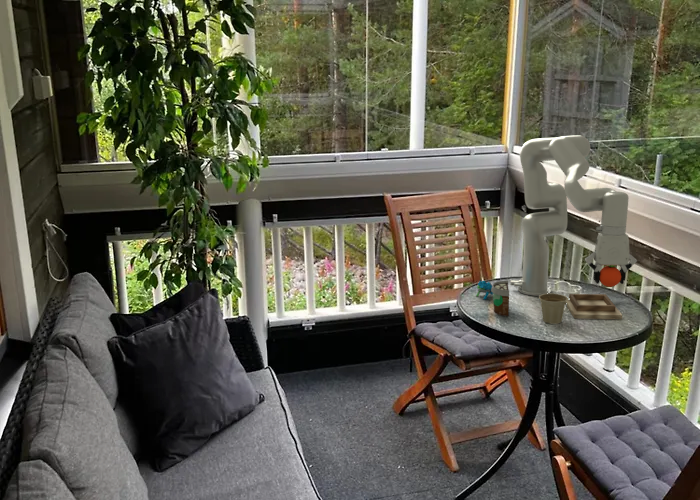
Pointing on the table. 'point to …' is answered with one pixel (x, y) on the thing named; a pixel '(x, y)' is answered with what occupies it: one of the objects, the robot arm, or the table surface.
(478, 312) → the table surface
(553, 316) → the flower pot
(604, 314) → the board
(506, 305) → the food container
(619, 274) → the clementine
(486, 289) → the toy dinosaur
